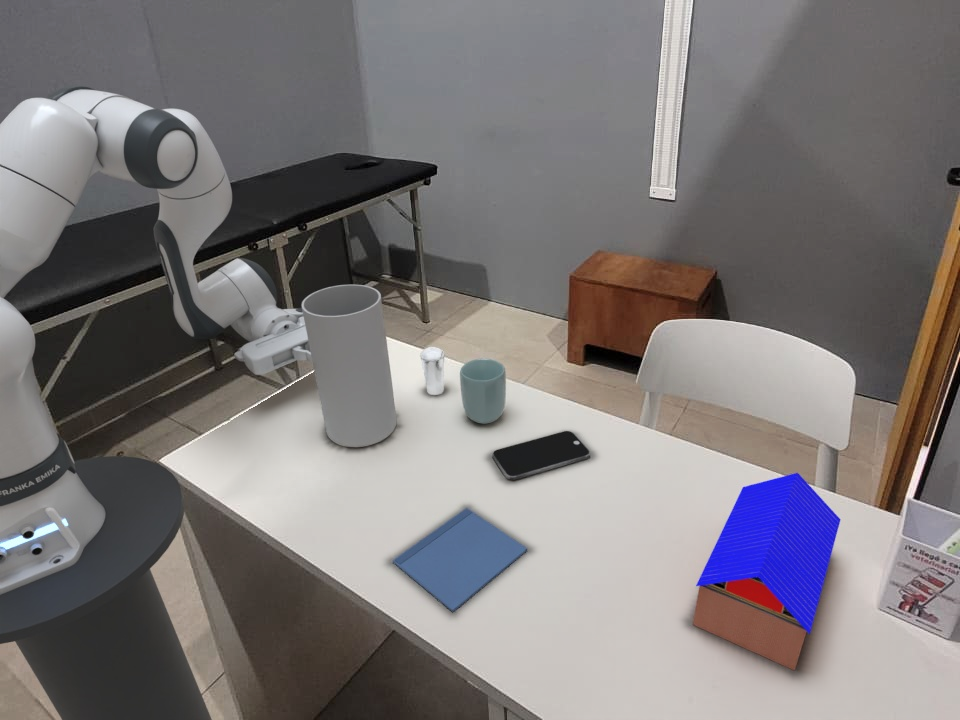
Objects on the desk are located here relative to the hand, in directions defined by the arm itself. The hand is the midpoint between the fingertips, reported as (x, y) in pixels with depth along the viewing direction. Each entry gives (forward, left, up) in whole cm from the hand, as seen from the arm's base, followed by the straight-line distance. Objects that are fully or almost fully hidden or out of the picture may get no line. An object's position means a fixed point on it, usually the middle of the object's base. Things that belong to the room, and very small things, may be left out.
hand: (319, 356), depth 118 cm
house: (+13, -78, -11) cm, 80 cm away
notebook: (-9, -46, -11) cm, 48 cm away
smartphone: (+15, -40, -11) cm, 44 cm away
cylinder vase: (0, -11, -11) cm, 15 cm away
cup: (+17, -25, -11) cm, 32 cm away
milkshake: (+17, -12, -11) cm, 23 cm away
